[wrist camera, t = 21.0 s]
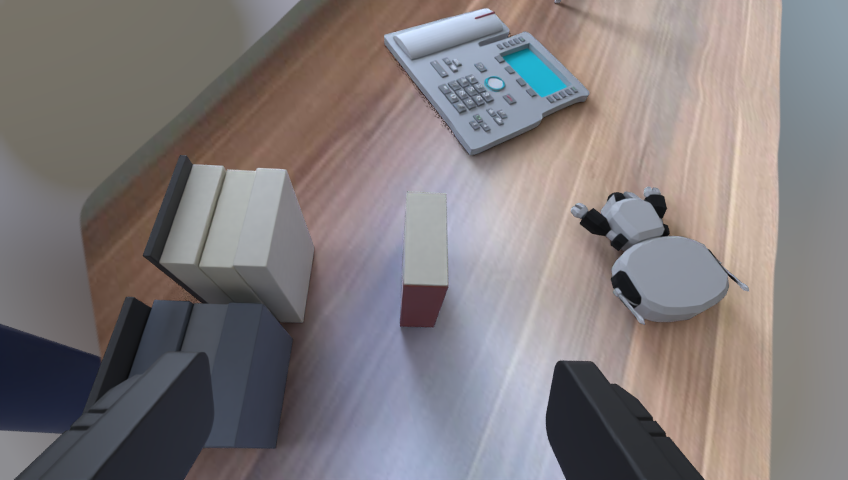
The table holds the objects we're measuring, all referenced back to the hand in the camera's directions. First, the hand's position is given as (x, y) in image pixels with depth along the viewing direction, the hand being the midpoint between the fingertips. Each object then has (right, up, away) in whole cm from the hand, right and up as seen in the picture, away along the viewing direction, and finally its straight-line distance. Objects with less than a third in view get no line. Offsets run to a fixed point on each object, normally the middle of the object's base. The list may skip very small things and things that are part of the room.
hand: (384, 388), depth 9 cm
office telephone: (+9, +27, +47) cm, 55 cm away
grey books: (-15, -9, +25) cm, 31 cm away
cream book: (0, -1, +31) cm, 31 cm away
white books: (-14, -1, +30) cm, 33 cm away
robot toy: (+24, +1, +35) cm, 42 cm away
